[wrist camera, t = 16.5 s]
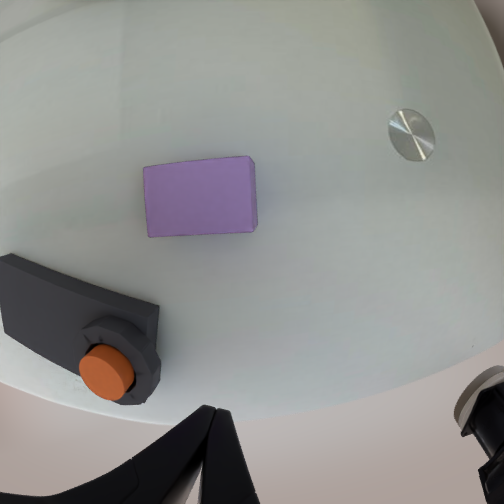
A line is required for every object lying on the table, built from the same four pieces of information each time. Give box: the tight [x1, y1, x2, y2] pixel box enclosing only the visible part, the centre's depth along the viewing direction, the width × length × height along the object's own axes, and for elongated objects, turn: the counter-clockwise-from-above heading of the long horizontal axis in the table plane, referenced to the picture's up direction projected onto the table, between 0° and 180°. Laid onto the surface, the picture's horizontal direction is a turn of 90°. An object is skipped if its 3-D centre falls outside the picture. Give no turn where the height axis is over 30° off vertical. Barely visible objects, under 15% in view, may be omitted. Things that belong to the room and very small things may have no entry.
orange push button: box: [79, 344, 134, 401], centre depth 17 cm, size 4×4×2 cm
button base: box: [0, 253, 161, 405], centre depth 19 cm, size 18×8×4 cm, turn 78°
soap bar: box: [143, 156, 258, 237], centre depth 17 cm, size 6×4×3 cm, turn 93°
